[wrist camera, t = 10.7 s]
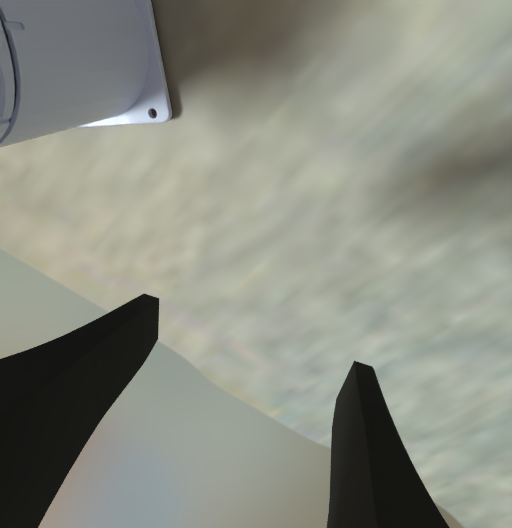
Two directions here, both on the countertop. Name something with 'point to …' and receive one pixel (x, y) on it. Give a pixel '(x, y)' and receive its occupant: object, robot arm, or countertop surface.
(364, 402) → the robot arm
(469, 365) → the countertop surface
